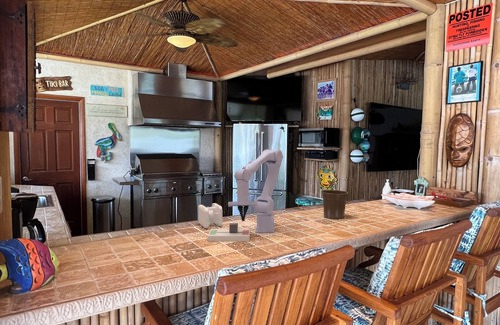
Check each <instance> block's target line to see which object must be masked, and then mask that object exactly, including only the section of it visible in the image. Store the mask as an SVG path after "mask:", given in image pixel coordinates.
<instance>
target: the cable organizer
mask: <svg viewBox="0 0 500 325" xmlns="http://www.w3.org/2000/svg"><path fill="white" fill-rule="evenodd" d="M197 206H198V208H197V209H198V211H197V212H198V214H197V215H198V223H199V224H200V226H201V227H203V228H204V229H208V228H209V227H210V226H211V224H214V225H216V226H218V227H221V226H223V207H222V206H221V205H220V204H218V203H216V202H215V203H211V206H210V207H209V206H207V207H206V206H205V205H204V204H198V205H197Z"/></svg>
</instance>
